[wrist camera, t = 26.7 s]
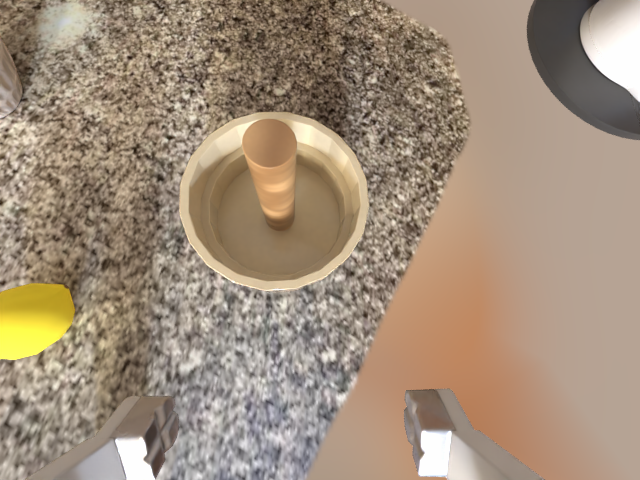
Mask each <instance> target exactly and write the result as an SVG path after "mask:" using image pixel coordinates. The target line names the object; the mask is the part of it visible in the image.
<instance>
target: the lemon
mask: <svg viewBox="0 0 640 480" xmlns="http://www.w3.org/2000/svg"><path fill="white" fill-rule="evenodd" d="M74 313H75V308H74V304H73V301H72V297H71V294H70V291H69V287H68V286H66V285H61V284H44V283H31V284H27V285H23V286H19V287H16V288H12V289H8V290H5V291H2V292H0V359H19V358H23V357H27V356H31V355H35V354H38V353H39V352H41V351H42V350H44V349H45V348H47V347H48V346H49V345H51V344H52V343H54V342H55V341H57V340H58V339H60V338H61V337H62V336H63V334H64V333H65V332H66V331H67V329H68V328H69V327H70V326H71V324H72V321H73V317H74Z"/></svg>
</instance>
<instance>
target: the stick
mask: <svg viewBox="0 0 640 480" xmlns="http://www.w3.org/2000/svg"><path fill="white" fill-rule="evenodd" d="M242 149H243V152H244V155H245V158H246V161H247V164H248V167H249V171H250V174H251V177H252V180H253V183H254V186H255V189H256V192H257V195H258V198H259V201H260V204H261V207H262V210H263V213H264V217H265V220H266V222H267V224H268V226H269V227H270V228H271V229H273V230H275V231H285V230H287V229H289V228H290V227H291V226H292V224H293V222H294V217H295V189H296V161H297V139H296V136H295V134H294V132H293V131H292V129H291V128H290V127H289V126H288V125H286V124H285V123H283V122H281V121H279V120H276V119H262V120H259V121H256V122H255V123H253V124H252V125H250V126H249V127H248V128H247V130H246V131H245V133H244V135H243V138H242Z"/></svg>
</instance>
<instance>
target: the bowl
mask: <svg viewBox="0 0 640 480" xmlns="http://www.w3.org/2000/svg"><path fill="white" fill-rule="evenodd" d="M262 119H276V120H279V121H281V122H283V123H285V124H286V125H288V126H289V127H290V128H291V129H292V131H293V132H294V134H295V136H296V139H297V161H296V189H295V217H294V222H293V224H292V226H291V227H290V228H289V229H287V230H285V231H275V230H273V229H271V228H270V227H269V226H268V224H267V222H266V220H265V217H264V213H263V210H262V207H261V204H260V201H259V198H258V195H257V192H256V189H255V186H254V183H253V180H252V177H251V174H250V171H249V167H248V164H247V161H246V158H245V155H244V152H243V149H242V138H243V135H244V133H245V131H246V130H247V128H248V127H249V126H250V125H252V124H253V123H255V122H256V121H259V120H262ZM368 210H369V198H368V189H367V180H366V177H365V175H364V172H363V170H362V168H361V166H360V163H359V161H358V159H357V157H356V155H355V153H354V152H353V151H352V150H351V149H350V147H349V146H348V145H347V144H346V143H345V142H344V141H343V140H342V138H341V137H340V136H339V135H338V134H337V133H335V132H333V131H332V130H330V129H329V128H327V127H325V126H324V125H322V124H321V123H319V122H317V121H316V120H314V119H311V118H307V117H304V116H300V115H297V114H293V113H290V112H260V113H259V112H257V113H253V114H250V115H247V116H243V117H240V118H236V119H233V120H231V121H229V122H228V123H226V124H225V125H223V126H222V127H220V128H219V129H217V130H215V131H214V132H212V133H211V134H209V136H207V137H206V139H205V140H204V141H203V142H202V144H201V145H200V146H199V147H198V148H197V150H196V151H195V152H194V153H193V155H192V156H191V158H190V159H189V161H188V164H187V167H186V169H185V172H184V175H183V177H182V180H181V183H180V205H179V213H180V217H181V220H182V223H183V226H184V229H185V232H186V235H187V238H188V241H189V243H190V244H191V245H192V247H193V248H194V249H195V250H196V252H197V253H198V254H199V255H200V257H201V258H202V259H203V261H204V262H205V263H206V264H207V265H208V266H209V267H210V268H212V269H213V270H215V271H216V272H218V273H219V274H221V275H223V276H224V277H226V278H227V279H229V280H230V281H232V282H234V283H236V284H240V285H243V286H247V287H250V288H254V289H258V290H262V291H266V292H271V293H274V292H289V291H297V290H300V289H302V288H305V287H307V286H309V285H312V284H314V283H317V282H319V281H320V280H322V279H323V278H325V277H326V276H328V275H329V274H330V273H331V272H332V271H333V270H335V269H336V268H337V267H338V266H339V265H341V264H342V263H343V262H344V261H345V260H346V259H348V257H349V256H350V254H351V253H352V251H353V249H354V248H355V246H356V245H357V243H358V241H359V240H360V238H361V236H362V235H363V232H364V228H365V224H366V219H367V215H368Z"/></svg>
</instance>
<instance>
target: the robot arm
mask: <svg viewBox="0 0 640 480" xmlns="http://www.w3.org/2000/svg"><path fill="white" fill-rule="evenodd" d="M580 37H581V42H582V45H583V47H584V50H585V52H586V54H587V56H588V57H589V59H590V60H591V62H592V63H593V64H594V65H595V66H596V68H597V69H598V70H599V71H600V72H601V73H603V74H604V75H605V76H606V77H608V78H609V79H610V80H612V81H614V82H615V83H617V84H619V85H621V86H622V87H624V88H625V89H627V90H628V91H629V92H630V93H631V95H632V96H633V97H634V98H635V99H636V100H637V101H638V102H640V0H599V1H598V2H597V3H595V4H594V5H592V6H591V7H590V8H589V9H588V10H587V11H586V12H585V14H584V15H583V17H582V20H581V24H580ZM405 402H406V405H407V407H406V409H405V410H404V422H405V430H406V434H407V438H408V441H409V442H410V443H411V444H412V445H413V458H414V461H415V465H416V468H417V471H418V474H419V476H432V477H436V476H437V477H447V479H448V480H545V479H543V478H542V477H540V476H539V475H538V474H537V473H535V472H534V471H532V470H531V469H530V468H529V467H527V466H526V465H524V464H523V463H522V462H521V461H519V460H518V459H517V458H515V457H514V456H512V455H511V454H510V453H508V452H507V451H506V450H505V449H503V448H502V447H501V446H499V445H498V444H497V443H495V442H494V441H493V440H491V439H490V438H489V437H487V436H486V435H484V434H483V433H482V432H481V431H476V430H474V429H473V427H472V425H471V423H470V421H469V420H468V418H467V416H466V415H465V412H464V411H463V409H462V407H461V405H460V404H459V402H458V400H457V399H456V396H455V394H454V393H453V391H452V390H451V389H435V390H434V389H429V390H406V393H405ZM175 405H176V404H175V400H174V397H172V396H129V397H127V398H126V399H124V400H123V402H122V403H121V404H120V405H119V407H118V408H117V409H116V410H115V411H114V413H113V414H112V415H111V416H110V418H109V419H108V420H107V421H106V422H105V424H104V425H103V426H102V427H101V429H100V430H99V431H98V432H97V433H96V435H95V436H94V437H93V438H91V439H86V440H85V441H83V442H82V443H80V444H79V445H77V446H76V447H74V448H72V449H71V450H69V451H68V452H66V453H65V454H63V455H62V456H60V457H58V458H57V459H55V460H54V461H52V462H51V463H49V464H48V465H46V466H44V467H43V468H41V469H40V470H38V471H37V472H35V473H34V474H32V475H30V476H29V477H27V478H26V479H24V480H155V479H156V477H157V475H158V473H159V471H160V469H161V467H162V465H163V463H164V462H165V454H164V453H165V452H166V451H167V450H169V449H170V448H171V447H172V446H173V444H174V442H175V440H176V438H177V434H178V430H179V417H178V414H176V413H175V412H174V411H173V409H174V407H175Z"/></svg>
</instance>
